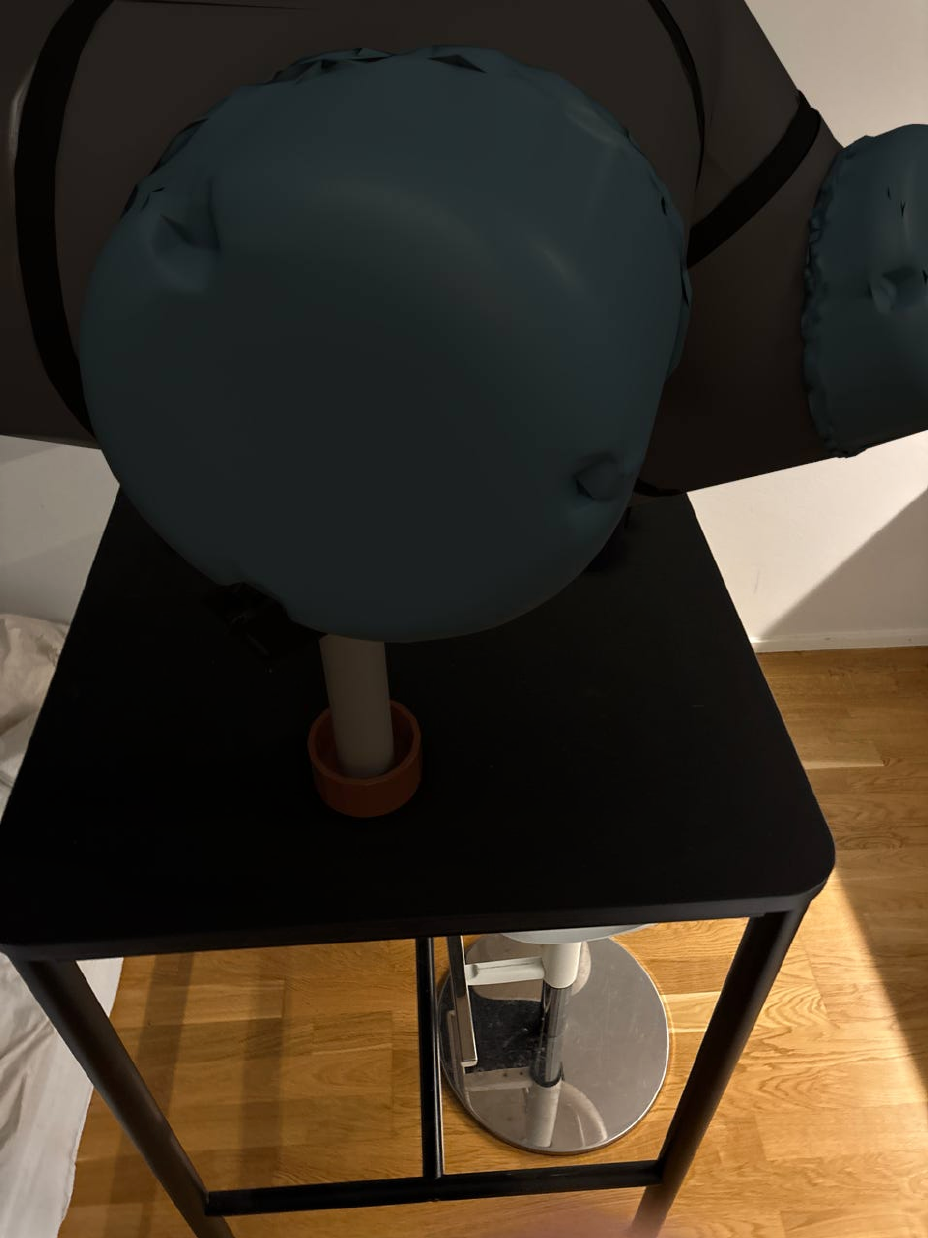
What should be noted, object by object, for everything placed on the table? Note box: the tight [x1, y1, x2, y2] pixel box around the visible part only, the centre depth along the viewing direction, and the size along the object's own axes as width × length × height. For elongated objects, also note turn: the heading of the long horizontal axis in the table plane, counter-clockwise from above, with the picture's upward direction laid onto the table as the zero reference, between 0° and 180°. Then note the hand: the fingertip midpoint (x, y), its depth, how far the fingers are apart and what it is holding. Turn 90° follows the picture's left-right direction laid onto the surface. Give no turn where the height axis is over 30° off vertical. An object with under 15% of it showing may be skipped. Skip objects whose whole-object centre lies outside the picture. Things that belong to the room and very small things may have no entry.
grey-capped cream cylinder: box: [318, 634, 395, 779], centre depth 64 cm, size 4×4×18 cm
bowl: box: [306, 698, 424, 819], centre depth 70 cm, size 8×8×4 cm
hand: (300, 522), depth 54 cm, fingers open, 13 cm apart
